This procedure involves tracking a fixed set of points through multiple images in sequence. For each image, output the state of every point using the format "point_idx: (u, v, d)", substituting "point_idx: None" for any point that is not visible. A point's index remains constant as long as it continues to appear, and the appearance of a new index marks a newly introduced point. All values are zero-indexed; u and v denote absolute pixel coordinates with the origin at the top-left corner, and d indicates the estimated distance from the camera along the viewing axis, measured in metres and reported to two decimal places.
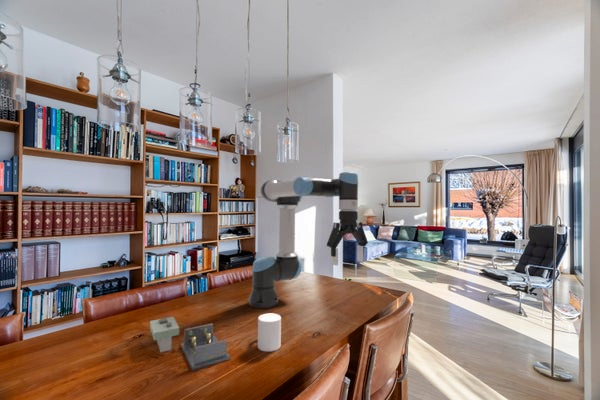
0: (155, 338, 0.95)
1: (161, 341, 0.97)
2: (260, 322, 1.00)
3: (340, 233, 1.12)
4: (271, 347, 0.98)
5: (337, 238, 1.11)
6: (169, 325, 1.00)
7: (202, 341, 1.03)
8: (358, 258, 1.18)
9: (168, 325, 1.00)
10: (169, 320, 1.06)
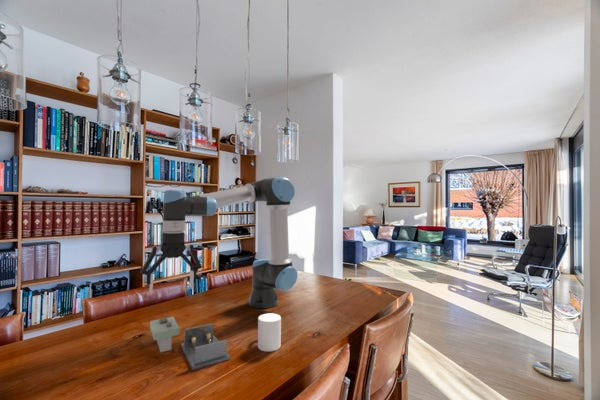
0: (155, 338, 0.95)
1: (161, 341, 0.97)
2: (260, 322, 1.00)
3: (160, 258, 1.01)
4: (271, 347, 0.98)
5: (154, 264, 1.00)
6: (169, 325, 1.00)
7: (202, 341, 1.03)
8: (190, 284, 1.07)
9: (168, 325, 1.00)
10: (169, 320, 1.06)
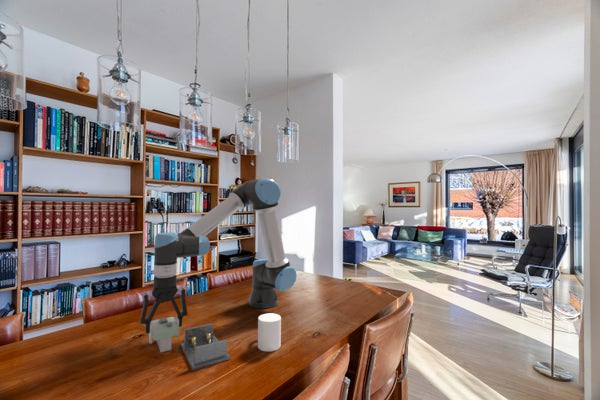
0: (155, 338, 0.95)
1: (161, 341, 0.97)
2: (260, 322, 1.00)
3: (154, 304, 1.00)
4: (271, 347, 0.98)
5: (151, 311, 1.00)
6: (169, 325, 1.00)
7: (202, 341, 1.03)
8: None
9: (168, 325, 1.00)
10: (169, 320, 1.06)
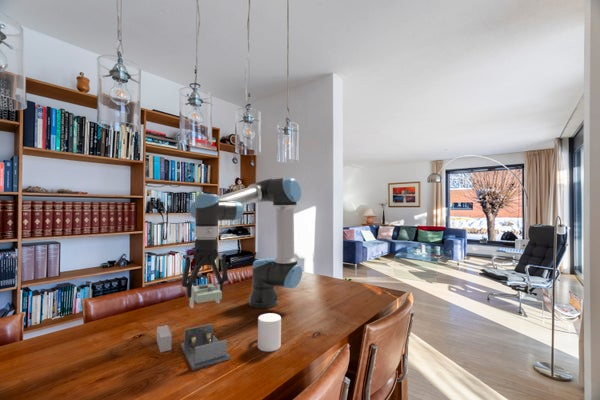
0: (198, 301, 0.91)
1: (161, 341, 0.97)
2: (260, 322, 1.00)
3: (195, 267, 0.96)
4: (271, 347, 0.98)
5: (192, 275, 0.95)
6: (211, 289, 0.96)
7: (202, 341, 1.03)
8: None
9: (210, 289, 0.95)
10: (209, 286, 1.01)
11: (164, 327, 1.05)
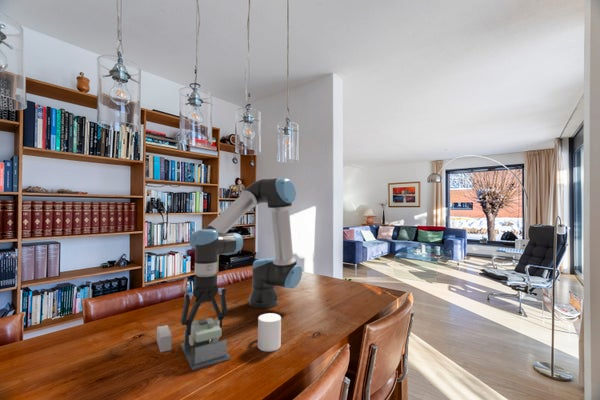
0: (198, 340, 0.90)
1: (161, 341, 0.97)
2: (260, 322, 1.00)
3: (195, 304, 0.96)
4: (271, 347, 0.98)
5: (191, 312, 0.95)
6: (211, 326, 0.95)
7: (202, 341, 1.03)
8: None
9: (210, 326, 0.95)
10: (208, 321, 1.01)
11: (164, 327, 1.05)
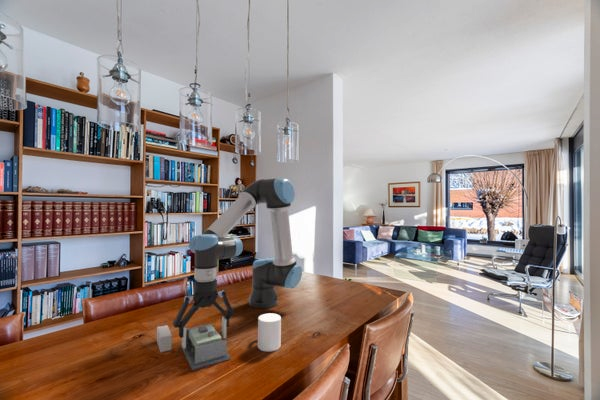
0: None
1: (161, 341, 0.97)
2: (260, 322, 1.00)
3: (192, 308, 0.95)
4: (271, 347, 0.98)
5: (187, 315, 0.94)
6: (211, 334, 0.95)
7: None
8: (222, 332, 1.01)
9: (210, 335, 0.95)
10: (208, 329, 1.01)
11: (164, 327, 1.05)
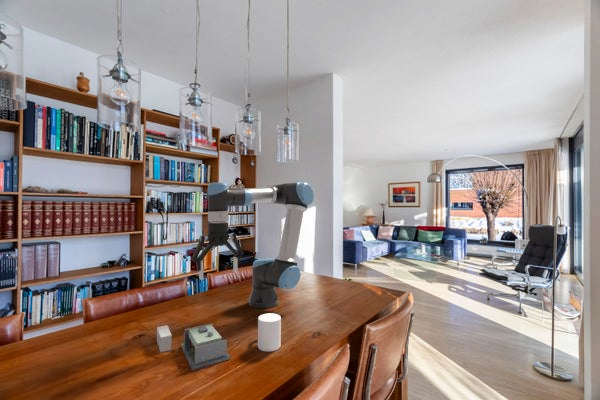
0: None
1: (161, 341, 0.97)
2: (260, 322, 1.00)
3: (207, 246, 1.08)
4: (271, 347, 0.98)
5: (203, 252, 1.07)
6: (211, 334, 0.95)
7: None
8: (234, 270, 1.15)
9: (210, 335, 0.95)
10: (208, 329, 1.01)
11: (164, 327, 1.05)
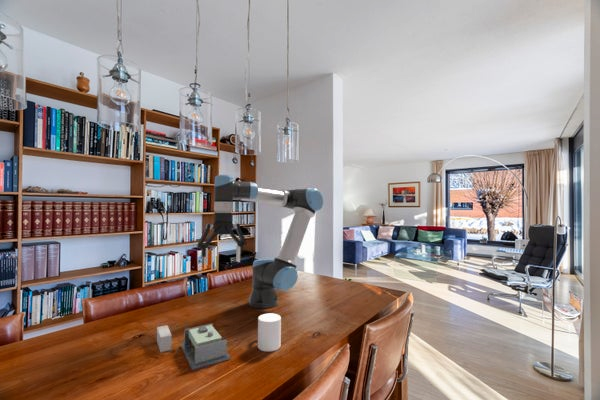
0: None
1: (161, 341, 0.97)
2: (260, 322, 1.00)
3: (212, 234, 1.15)
4: (271, 347, 0.98)
5: (208, 239, 1.14)
6: (211, 334, 0.95)
7: None
8: (236, 258, 1.21)
9: (210, 335, 0.95)
10: (208, 329, 1.01)
11: (164, 327, 1.05)
